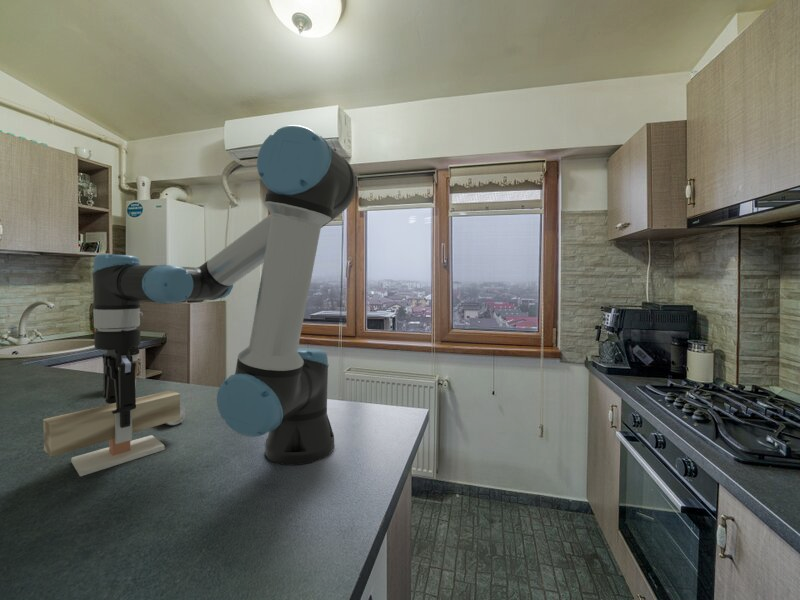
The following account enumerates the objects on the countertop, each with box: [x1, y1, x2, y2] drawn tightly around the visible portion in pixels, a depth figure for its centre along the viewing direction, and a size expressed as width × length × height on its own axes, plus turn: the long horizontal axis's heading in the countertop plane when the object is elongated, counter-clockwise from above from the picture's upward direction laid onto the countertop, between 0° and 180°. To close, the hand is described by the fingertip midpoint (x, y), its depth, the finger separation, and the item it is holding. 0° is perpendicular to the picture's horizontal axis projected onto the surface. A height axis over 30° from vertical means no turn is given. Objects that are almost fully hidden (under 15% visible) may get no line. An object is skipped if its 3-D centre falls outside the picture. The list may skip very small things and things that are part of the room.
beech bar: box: [42, 390, 181, 458], centre depth 74 cm, size 4×22×6 cm, turn 148°
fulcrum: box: [71, 434, 166, 477], centre depth 74 cm, size 8×14×5 cm, turn 142°
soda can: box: [164, 404, 187, 426], centre depth 93 cm, size 5×5×12 cm
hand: (119, 436), depth 74 cm, fingers open, 6 cm apart
